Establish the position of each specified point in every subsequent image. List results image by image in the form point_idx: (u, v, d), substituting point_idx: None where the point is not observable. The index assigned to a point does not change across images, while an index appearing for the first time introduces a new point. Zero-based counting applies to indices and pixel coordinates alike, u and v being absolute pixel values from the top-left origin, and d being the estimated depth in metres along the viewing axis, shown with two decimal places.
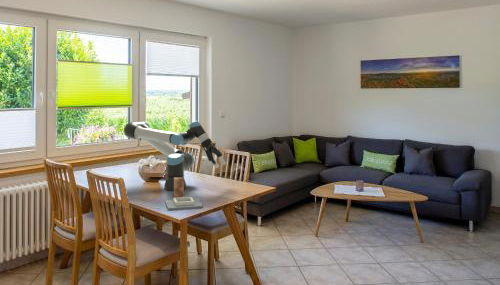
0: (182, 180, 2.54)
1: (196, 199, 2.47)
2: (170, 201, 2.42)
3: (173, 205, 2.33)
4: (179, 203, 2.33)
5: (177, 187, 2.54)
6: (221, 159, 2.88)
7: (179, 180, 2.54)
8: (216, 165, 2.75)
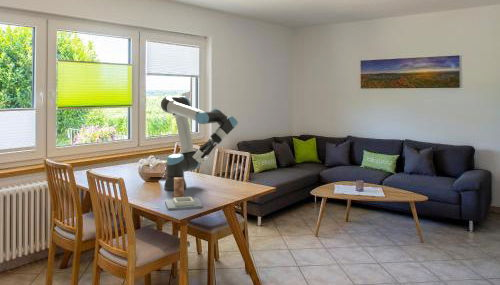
0: (182, 180, 2.54)
1: (196, 199, 2.47)
2: (170, 201, 2.42)
3: (173, 205, 2.33)
4: (179, 203, 2.33)
5: (177, 187, 2.54)
6: (198, 153, 2.65)
7: (179, 180, 2.54)
8: (199, 159, 2.52)
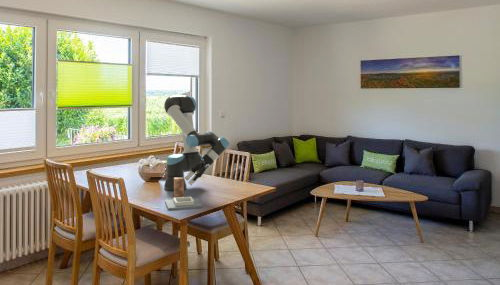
0: (182, 180, 2.54)
1: (196, 199, 2.47)
2: (170, 201, 2.42)
3: (173, 205, 2.33)
4: (179, 203, 2.33)
5: (177, 187, 2.54)
6: (190, 175, 2.63)
7: (179, 180, 2.54)
8: (191, 182, 2.50)
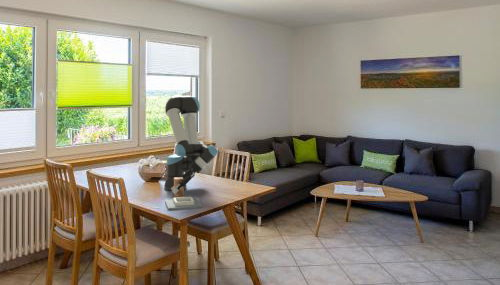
0: (182, 180, 2.54)
1: (196, 199, 2.47)
2: (170, 201, 2.42)
3: (173, 205, 2.33)
4: (179, 203, 2.33)
5: None
6: None
7: (179, 180, 2.54)
8: (175, 190, 2.53)
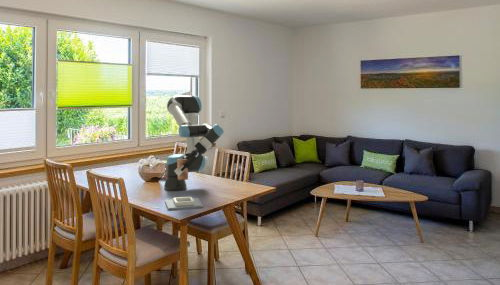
0: (186, 161, 2.41)
1: (196, 199, 2.47)
2: (170, 201, 2.42)
3: (173, 205, 2.33)
4: (179, 203, 2.33)
5: None
6: None
7: (183, 161, 2.40)
8: (179, 172, 2.40)
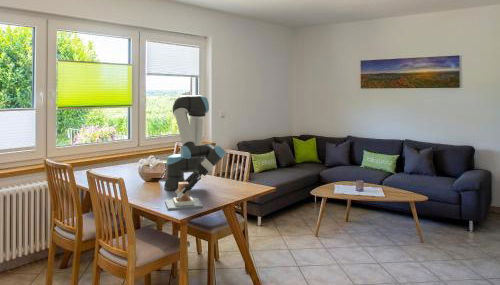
0: None
1: (196, 199, 2.47)
2: (170, 201, 2.42)
3: (173, 205, 2.33)
4: (179, 203, 2.33)
5: None
6: None
7: (184, 185, 2.35)
8: (181, 195, 2.34)
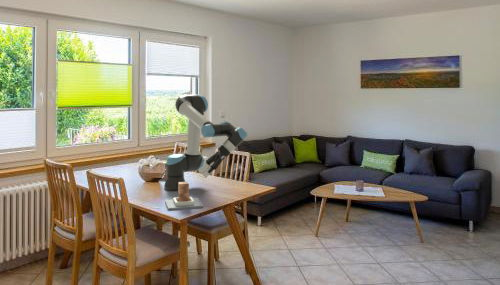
0: (187, 185, 2.36)
1: (196, 199, 2.47)
2: (170, 201, 2.42)
3: (173, 205, 2.33)
4: (179, 203, 2.33)
5: (182, 193, 2.36)
6: (205, 167, 2.49)
7: (184, 185, 2.35)
8: (206, 174, 2.36)
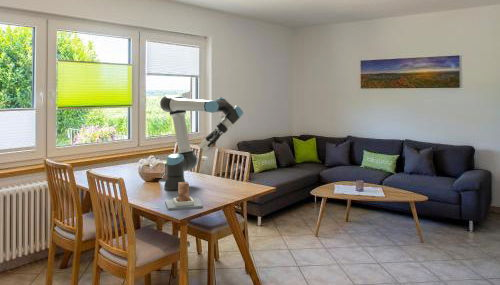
0: (187, 185, 2.36)
1: (196, 199, 2.47)
2: (170, 201, 2.42)
3: (173, 205, 2.33)
4: (179, 203, 2.33)
5: (182, 193, 2.36)
6: (204, 142, 2.71)
7: (184, 185, 2.35)
8: (206, 148, 2.58)
